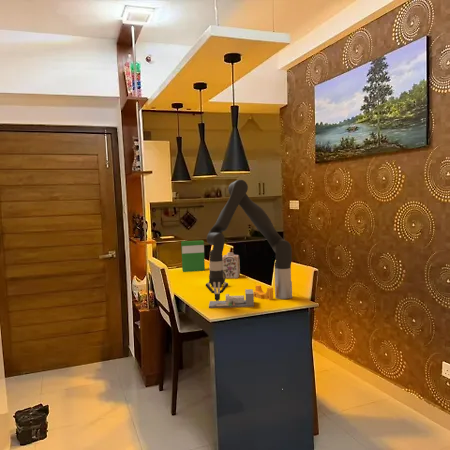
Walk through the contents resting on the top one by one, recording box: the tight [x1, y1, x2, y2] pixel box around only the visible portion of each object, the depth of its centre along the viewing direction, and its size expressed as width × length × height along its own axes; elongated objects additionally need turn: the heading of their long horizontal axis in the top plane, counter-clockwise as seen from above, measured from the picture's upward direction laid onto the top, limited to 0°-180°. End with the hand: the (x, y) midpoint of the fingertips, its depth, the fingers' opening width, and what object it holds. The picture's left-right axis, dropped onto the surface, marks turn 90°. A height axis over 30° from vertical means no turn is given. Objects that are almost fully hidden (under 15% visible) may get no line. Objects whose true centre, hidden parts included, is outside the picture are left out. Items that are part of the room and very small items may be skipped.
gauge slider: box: [225, 293, 245, 304], centre depth 226 cm, size 10×8×4 cm
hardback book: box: [180, 239, 206, 273], centre depth 339 cm, size 18×7×24 cm, turn 100°
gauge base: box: [208, 288, 255, 309], centre depth 227 cm, size 24×11×7 cm, turn 89°
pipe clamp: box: [253, 284, 274, 300], centre depth 240 cm, size 12×4×6 cm, turn 37°
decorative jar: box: [222, 252, 241, 279], centre depth 307 cm, size 12×12×18 cm
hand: (217, 300), depth 227 cm, fingers closed
